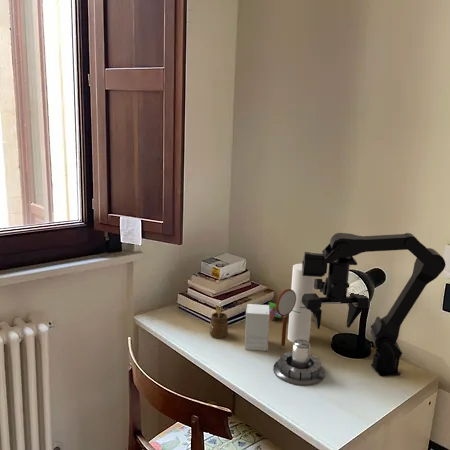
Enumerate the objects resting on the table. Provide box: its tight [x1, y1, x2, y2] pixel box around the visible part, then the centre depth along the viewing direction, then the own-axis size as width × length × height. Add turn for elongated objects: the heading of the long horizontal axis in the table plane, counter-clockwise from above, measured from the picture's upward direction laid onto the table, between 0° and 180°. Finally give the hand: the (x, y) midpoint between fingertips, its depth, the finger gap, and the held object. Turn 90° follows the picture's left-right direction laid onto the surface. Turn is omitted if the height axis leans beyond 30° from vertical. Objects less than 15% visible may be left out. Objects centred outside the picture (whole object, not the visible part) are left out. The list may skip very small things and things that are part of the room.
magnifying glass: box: [276, 288, 296, 349], centre depth 161 cm, size 9×2×20 cm, turn 132°
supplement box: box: [244, 303, 271, 352], centre depth 163 cm, size 7×7×13 cm
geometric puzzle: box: [266, 299, 283, 321], centre depth 184 cm, size 7×7×8 cm
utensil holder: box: [209, 301, 229, 339], centre depth 169 cm, size 6×6×12 cm
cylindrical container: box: [287, 263, 316, 344], centre depth 167 cm, size 7×7×25 cm
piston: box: [291, 339, 311, 369], centre depth 149 cm, size 5×5×9 cm
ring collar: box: [272, 351, 326, 387], centre depth 150 cm, size 15×15×3 cm
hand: (333, 327), depth 151 cm, fingers open, 9 cm apart
